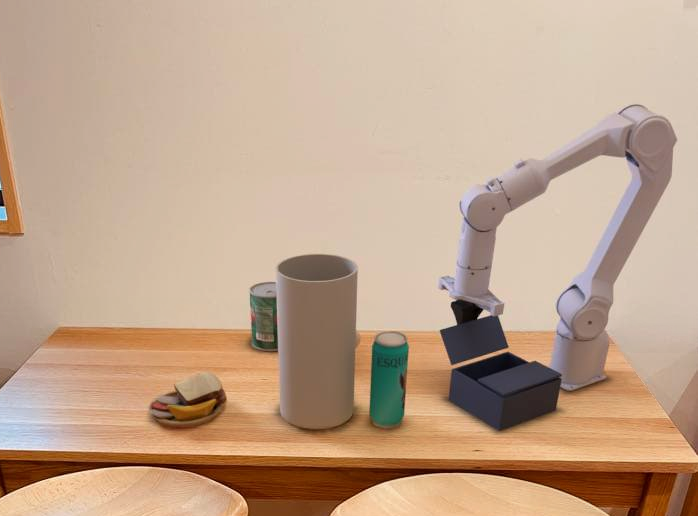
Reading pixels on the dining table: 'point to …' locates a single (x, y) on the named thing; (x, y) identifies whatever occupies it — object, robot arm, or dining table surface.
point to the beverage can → (388, 379)
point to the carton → (505, 389)
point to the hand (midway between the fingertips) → (464, 341)
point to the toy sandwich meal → (189, 401)
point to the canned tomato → (264, 316)
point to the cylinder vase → (316, 339)
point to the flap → (473, 339)
